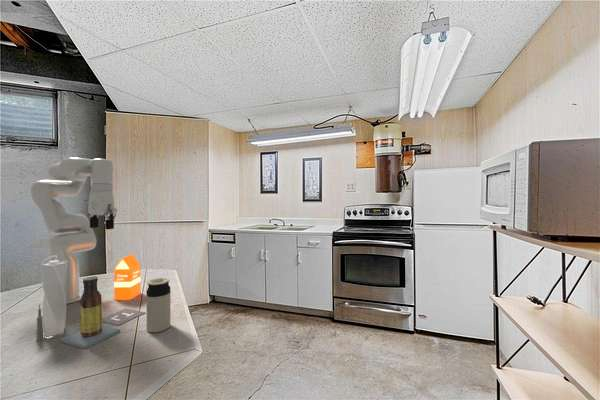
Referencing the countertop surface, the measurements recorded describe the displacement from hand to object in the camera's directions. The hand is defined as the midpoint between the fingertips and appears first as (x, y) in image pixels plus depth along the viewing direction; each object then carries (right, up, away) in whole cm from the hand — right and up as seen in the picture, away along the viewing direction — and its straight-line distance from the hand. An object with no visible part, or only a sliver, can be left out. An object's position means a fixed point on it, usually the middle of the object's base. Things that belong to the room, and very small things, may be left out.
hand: (101, 228), depth 115 cm
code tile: (+11, -36, -4) cm, 38 cm away
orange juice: (-1, -36, +18) cm, 40 cm away
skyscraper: (-4, -37, -18) cm, 41 cm away
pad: (+11, -36, -20) cm, 43 cm away
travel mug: (+31, -36, -14) cm, 50 cm away
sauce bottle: (+11, -35, -20) cm, 42 cm away
